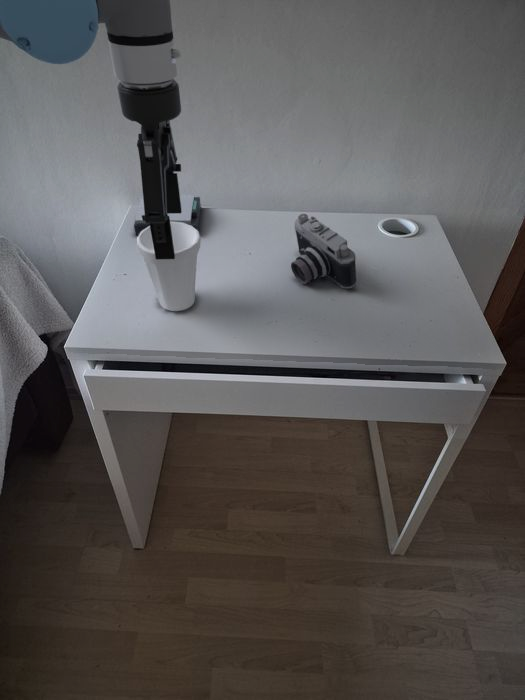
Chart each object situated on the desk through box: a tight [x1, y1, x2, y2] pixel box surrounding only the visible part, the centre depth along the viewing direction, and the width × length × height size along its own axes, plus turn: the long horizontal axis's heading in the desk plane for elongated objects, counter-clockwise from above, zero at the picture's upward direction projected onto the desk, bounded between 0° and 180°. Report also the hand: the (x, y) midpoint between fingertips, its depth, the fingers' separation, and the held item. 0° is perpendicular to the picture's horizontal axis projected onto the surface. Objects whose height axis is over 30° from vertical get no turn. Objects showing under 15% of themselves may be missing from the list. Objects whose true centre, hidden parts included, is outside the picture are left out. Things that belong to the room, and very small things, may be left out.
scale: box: [133, 194, 202, 237], centre depth 98 cm, size 13×13×4 cm
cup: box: [136, 222, 202, 312], centre depth 75 cm, size 10×10×13 cm
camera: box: [290, 213, 357, 289], centre depth 83 cm, size 16×9×10 cm, turn 34°
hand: (169, 233), depth 70 cm, fingers open, 13 cm apart
